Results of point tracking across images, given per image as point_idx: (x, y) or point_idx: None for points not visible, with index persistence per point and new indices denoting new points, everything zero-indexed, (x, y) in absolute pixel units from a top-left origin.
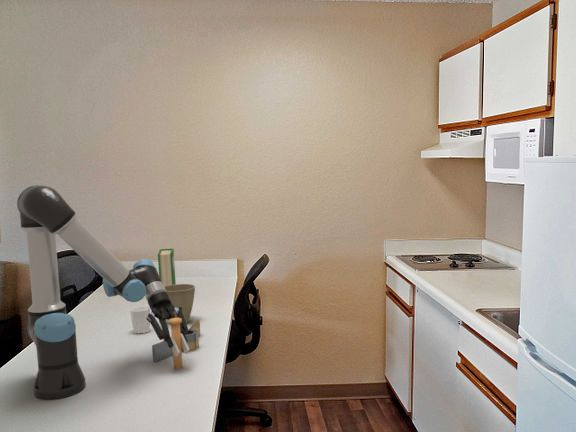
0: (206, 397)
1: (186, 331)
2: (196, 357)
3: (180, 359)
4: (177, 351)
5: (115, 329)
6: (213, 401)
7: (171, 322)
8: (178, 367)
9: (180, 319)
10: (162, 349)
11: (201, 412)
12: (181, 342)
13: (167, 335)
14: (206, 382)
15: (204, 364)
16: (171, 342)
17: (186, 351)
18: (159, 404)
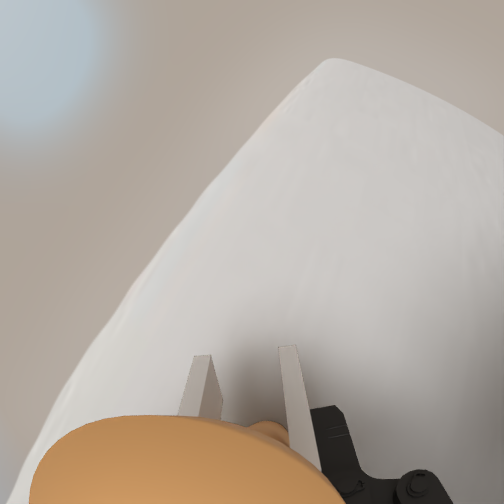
0: (288, 123)
1: None
2: None
3: (253, 424)
4: (296, 350)
5: None
6: (282, 103)
7: (337, 494)
8: (272, 421)
9: (63, 465)
10: None
11: (326, 83)
12: None
13: (358, 483)
14: (238, 203)
15: (143, 388)
16: (321, 430)
17: (215, 376)
18: (418, 152)
